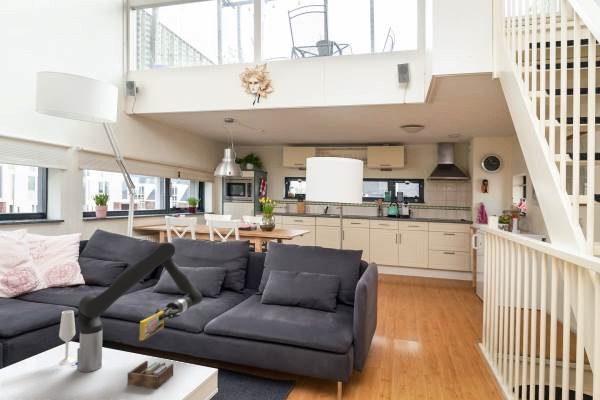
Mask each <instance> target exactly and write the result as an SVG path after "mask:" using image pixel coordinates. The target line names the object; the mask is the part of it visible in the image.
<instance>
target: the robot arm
mask: <svg viewBox="0 0 600 400" xmlns="http://www.w3.org/2000/svg"><path fill="white" fill-rule="evenodd" d="M175 252H176V246H175V245H174V243H172V242H169V241H162V242H159V243H156V245H155V246H154V247H153V251H152V252H151V253H150V254H149V255H147V256H146V257H144V258H142V259H140V260H138V261H137V262H134V263H133V264H131V265H130V266H128V267H127V268H126V269H125V270H123V271H122V272H121V273H119V274H118V275H117V276H116V277H115V279H114V280H113V282H112V283H111V284H110V286H109V287H108V288H107V289H105V290H104V291H102V292H101V293H100V294H98V295H94V294H89V295H86V296H84V297H83V298H81V299H80V301H79V304H78V308H77V311H78V312H77V313H78V315H77V318H78V319H77V321H78V322H77V323H78V327H79V347H78V348H77V351H76V352H77V357H76V362H77V363H76V368H77V369H76V370H78V371H79V372H83V373H88V372H93V371H97V370H99V369H100V368H101V367H102V366H103V330H104V329H103V328H104V327H103V322H102V319H101V316H102V315H103V314H104V313H105V312H106V311H107V310H108V309H109V308H110V307H111V306H112V305H113V304H115V302H116V301H117V300H119V299H120V298H122V296H124V295H125V294H126V293H128V292H129V291H130V290H131V289H132V288H134V287H135V286H136V285H138V284H139V283H140V282H142V281H143V279H145V278H146V277H147V276H148V275H150V274H151V273H152V272H153V271H154V270H155V269H156V268H157V267H159V266H160V265H162V266H163V268H165V271H167V273H168V274H169V276H170V277H171V278H172V279H171V280H173V282H174V284H175V285H176V287H177V289H178V290H179V291H180V293H187V294H185V295H184V296H182V297H180V298H177V299H175V300H173V301H171V302H169V303H167V304H166V306H165V307H164V308H162V309H159V308H156V309H155V312H154V314H156V313H158V312H160V311H164V314H162V315H160V316H159V321H161V320H163V319H164V320H165V319H169V320H170V319H173V318H174V319H175V318H177V317H180V316H181V315H182V314H183V313H184V312H186V311H187V310H189V309H190V308H191V307H193V306H196V305H198V304H200V303H201V302H202V301H203V295H202V293H201V292H200V290H198V289H197V288H196V287H195V286H194V285H193V284H192V283H191V281H190V280H189V278H188V276H187V274H186V273H185V272H184V271H183V270H182V268H181V267H180V266H178V264H177V263H176V261H175V260H174V258H173V256H174V255H175Z"/></svg>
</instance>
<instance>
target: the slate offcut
mask: <svg viewBox="0 0 600 400" xmlns="http://www.w3.org/2000/svg"><path fill="white" fill-rule="evenodd" d="M167 367H168V366H167V365H165V366H164V365H162V366H161V367H160V368H159V369H157V370H156V371H155V372H153V375H155V376H157V375H158V374H159V373H161V372H162V371H163V370H164V369H166V368H167Z"/></svg>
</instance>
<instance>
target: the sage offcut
mask: <svg viewBox="0 0 600 400" xmlns="http://www.w3.org/2000/svg"><path fill="white" fill-rule="evenodd" d="M155 362H156V363H155ZM155 362H154V363H152V364H153V365H152V364H151V365H152V366H151V365H149V366H150V367H149V366H148V367H149V368H147V369H146V374H147V375H149V373H151V372H152V371H153V370H155V369H156V368H157V367H159V366H160V365H161V361H155Z"/></svg>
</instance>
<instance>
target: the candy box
mask: <svg viewBox="0 0 600 400" xmlns="http://www.w3.org/2000/svg"><path fill="white" fill-rule="evenodd" d="M162 314H164V311H160V312H158V313H156V314H155V313H154V314H153V315H151V316H148V317H147V318H145V319H143V320H140V321H139V338H138V339H139V340H138V341H142V342H143V341H144V340H146V339H148V338H150V337H151V336H153V335H154V334H156V333H157V332H159V331H162V330H163V329H164V326H165V325H164V324H165V319H163V320H161V321H159V316H160V315H162Z"/></svg>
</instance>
